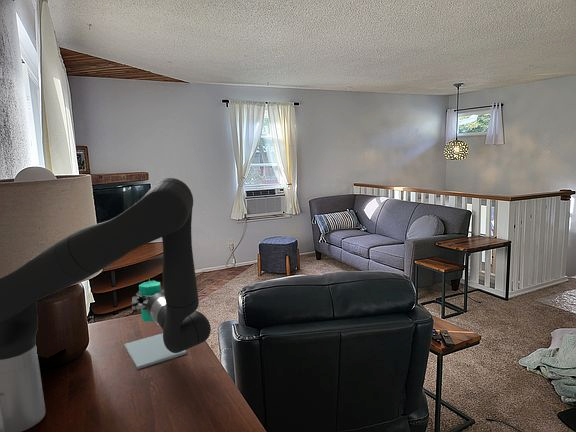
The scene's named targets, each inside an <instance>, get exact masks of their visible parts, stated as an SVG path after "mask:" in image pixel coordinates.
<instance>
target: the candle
mask: <svg viewBox="0 0 576 432" xmlns="http://www.w3.org/2000/svg"><path fill="white" fill-rule="evenodd" d="M161 289H162V286H161V281H156V280H150V278H148V281H146V282H142V283H140V284H139V285H138V291H139V293H140V294H142V295H146V294H147V295H150V296H152V295H154V294H156V293H159V292H160V291H161ZM140 312H141V314H140V315H141V320H142V321H143V322H147V323H150V322H151V323H152V322H155V321H154V320H153V319H152V318H151V316H150V315H149V314H148V312H147V311H146V310H143V308H141V309H140Z"/></svg>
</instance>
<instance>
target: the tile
mask: <svg viewBox="0 0 576 432" xmlns="http://www.w3.org/2000/svg"><path fill="white" fill-rule="evenodd" d="M124 348H125V350H126V351H127V353H128V355H129V357H130V358H131V360H132V362H133V364H134V366H135V368H136V370H139V369H142V368H143V369H144V368H146V367H149V366H152V365H156V364H159V363H162V362H165V361H168V360H172V359H174V358H178V357H181V356H183V355H186V354H188V353H187V349H186V350H184V351H182V352H179V353H172V352H170V351H169V350H168V349H167V348H166V346H165V344H164V341H163V332H161V333H158V334H155V335H152V336H148V337H144V338H141V339H138V340H133V341H130V342H127V343H124Z"/></svg>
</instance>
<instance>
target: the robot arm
mask: <svg viewBox="0 0 576 432" xmlns="http://www.w3.org/2000/svg"><path fill="white" fill-rule="evenodd" d="M193 207H194V196H193V192H192V191H191V189H190V187H189V186H188V185H187V183H185V182H184V181H182V180H180V179H178V178H173V177H166V178H163V179H160V180H159V181H157V182H156V183H154V185H152V186H151V187H150V189H148V191H147V192H146V193H145V195H143V196H142V197H141V198H140V199H139V200H138V201H137V202H135V203H134V204H133V205H132V206H130V207H129V208H127V209H126V210H124V211H123V212H121V213H120V214H118V215H116V216H115V217H113V218H111V219H109V220H105V221H103V222H99V223H95V224H91V225H88V226H85V227H83V228H79V230H76V231H75V232H73V233H71V234H69V235H67V236H66V237H64V238H62V239H61V240H59V241H57V242H55V243H54V244H52V245H51V246H49V247H48V248H46V249H45V250H43V251H42V252H40V254H39V253H38V254H39V255H37V256H36V257H34V258H33V259H31V260H30V261H28V262H27V263H26V264H24V265H23V266H21V265H20V267H18V268H17V269H15V270H13V271H11V272H10V273H8V274H6V275H3V276H0V432H24V431H26V430H29V429H30V428H33V427H34V426H36V425H37V424H39V423H40V422H41V421H42V420H43V419H44V417H45V415H46V403H45V399H44V390H43V384H42V376H41V368H40V363H39V357H38V354H37V346H36V334H37V331H38V315H37V302H36V301H37V300H39V299H41V298H43V297H46V296H48V295H51V294H53V293H56V292H58V291H59V292H61V291H62V290H65V289H67V288H70V287H72V286H74V285H76V284H78V283H80V282H82V281H85V280H86V279H88V278H90V277H91V276H93V275H95V274H97V273H98V272H101V271H103V270H104V269H106V268H107V267H109V266H110V265H111V264H113V263H115V262H117V261H119V260H120V259H122V258H124V257H125V256H126V255H127V254H129V253H130V252H132V251H134V250H136V249H138V248H139V247H142V246H145V245H147V244H149V243H152V242H154V241H156V240H159V239H161V241H162V287H163V288H161V291H160V292H159V293H156V294H154V295H152V296H150V295H147V294H146V295H142V294H140V293H139V290H138V291H137V292H136V293H135V296H132V299H131V309H132V311H131V312H132V313H137V312H138V310H141V308H143V310H146V311H147V312H148V314H149V315H150V316H151V318H152V319H153V320H154V321H153V322H154V323H155V324H157V325H158V326H159V327H160V328H161V329H162V333H163V341H164V344H165V346H166V348H167V349H168V350H169V351H170V352H172V353H179V352H182V351H184V350H186V351H187V350H189V349H191V348H193V347H196V346H198V345H200V344H203V343H204V342H206V341H207V340H208V339H209V338H210V336H211V330H212V327H211V324H210V321H209V319H208V318H207V316H205V315H204V314H203V313H202V312H200V311H198V310H197V309H198V307H199V304H200V303H199V302H200V300H199V293H198V284H197V276H196V269H195V262H194V261H195V260H194V254H193V240H192V239H193V237H192V219H193V217H192V216H193Z"/></svg>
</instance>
